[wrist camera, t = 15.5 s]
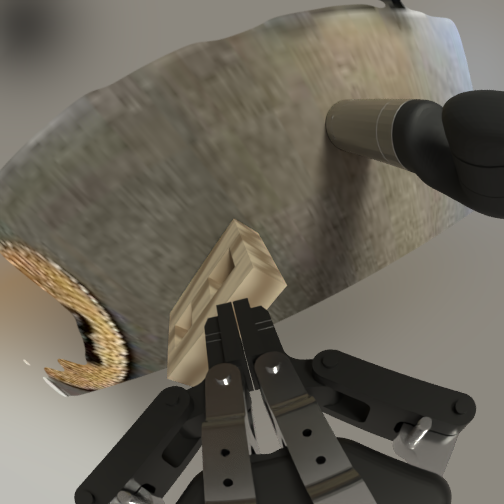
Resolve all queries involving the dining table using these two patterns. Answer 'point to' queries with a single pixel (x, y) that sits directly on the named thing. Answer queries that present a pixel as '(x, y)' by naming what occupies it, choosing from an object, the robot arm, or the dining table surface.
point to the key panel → (219, 297)
